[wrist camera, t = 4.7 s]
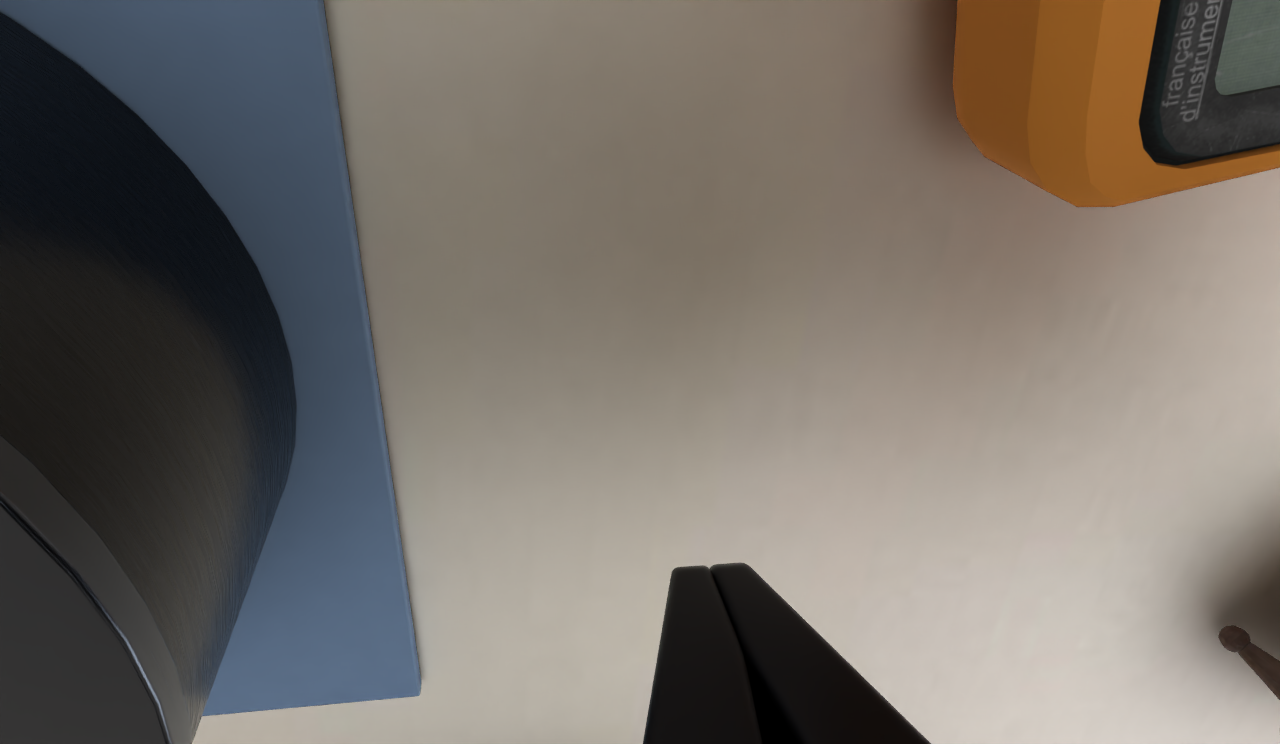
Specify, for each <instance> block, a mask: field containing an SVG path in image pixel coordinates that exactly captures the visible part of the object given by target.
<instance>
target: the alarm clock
mask: <svg viewBox="0 0 1280 744" xmlns="http://www.w3.org/2000/svg"><path fill="white" fill-rule="evenodd" d="M1219 639H1220V642H1221V643H1222V645H1223V646H1224V647H1225V648H1226V649H1228V650H1229V651H1232V652H1238V653H1239V655H1240V656H1241V657H1242V658H1243V659H1244V660H1245V661H1246V662H1247V664H1248V665H1249V666H1250V667H1251V668H1252V669H1253V670H1254V671H1255V673H1256V674H1257V675H1258V676H1259V677H1260V678H1261V679H1262V681H1263V682H1264V683H1265V684H1266V685H1267V686H1268V687H1269V688H1270V690H1271V691H1272V692H1273V693H1274V694H1275V695H1276V696H1277V697H1278V699H1279V700H1280V661H1279V660H1277V659H1276V658H1274V657H1273V656H1271V655H1270V654H1268V653H1267V652H1265V651H1263V650H1262V649H1260V648H1259V647H1257V646H1256V645H1254V644H1253V643H1251V642H1250V637H1249V634H1248V633H1247V632H1246V631H1245V630H1243V629H1241V628H1239V627H1237V626H1234V625H1231V626H1226V627H1224V628H1222V629H1221V631H1220V632H1219Z"/></svg>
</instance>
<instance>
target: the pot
mask: <svg viewBox="0 0 1280 744" xmlns="http://www.w3.org/2000/svg"><path fill="white" fill-rule="evenodd" d="M296 411H297V402H296V394H295V386H294V378H293V370H292V362H291V358H290V354H289V351H288V347H287V344H286V340H285V337H284V333H283V330H282V326H281V323H280V319H279V316H278V313H277V311H276V309H275V306H274V304H273V302H272V300H271V297H270V295H269V293H268V291H267V288H266V286H265V284H264V282H263V279H262V277H261V275H260V273H259V270H258V268H257V266H256V264H255V263H254V261H253V259H252V258H251V256H250V254H249V253H248V251H247V249H246V248H245V246H244V245H243V243H242V241H241V240H240V238H239V236H238V235H237V233H236V231H235V230H234V228H233V226H232V225H231V223H230V221H229V220H228V218H227V217H226V215H225V214H224V213H223V211H222V210H221V209H220V207H219V206H218V205H217V204H216V202H215V201H214V200H213V198H212V197H211V196H210V195H209V193H208V192H207V191H206V189H205V188H204V187H203V186H202V184H201V183H200V182H199V180H198V179H197V178H196V177H195V175H194V174H193V173H192V172H191V170H190V169H189V168H188V166H187V165H186V164H185V163H184V162H183V161H182V160H181V159H180V158H179V157H178V156H177V155H176V154H175V153H174V152H173V151H172V150H171V149H170V148H169V147H168V146H167V145H166V143H165V142H164V141H163V140H162V139H161V138H160V137H159V136H158V135H157V134H156V133H155V132H154V131H153V130H152V129H151V128H150V127H149V126H148V125H147V124H146V123H145V122H144V121H143V120H142V119H141V118H140V117H139V116H138V115H137V114H136V113H135V112H134V111H133V110H131V109H130V108H129V107H128V106H127V105H125V104H124V103H123V102H122V101H121V100H120V99H118V98H117V97H116V96H115V95H114V94H112V93H111V92H110V91H109V90H108V89H107V88H105V87H104V86H103V85H102V84H101V83H99V82H98V81H97V80H96V79H95V78H93V77H92V76H91V75H90V74H89V73H88V72H86V71H85V70H84V69H83V68H82V67H80V66H79V65H78V64H76V63H75V62H73V61H72V60H71V59H69V58H68V57H66V56H65V55H63V54H62V53H60V52H59V51H58V50H56V49H55V48H53V47H52V46H50V45H49V44H47V43H46V42H45V41H43V40H42V39H40V38H39V37H37V36H36V35H34V34H33V33H31V32H30V31H29V30H27V29H26V28H24V27H23V26H21V25H20V24H18V23H17V22H16V21H14V20H13V19H11V18H9V17H8V16H6V15H4V14H2V13H1V12H0V744H192V742H193V739H194V736H195V733H196V731H197V728H198V725H199V722H200V720H201V717H202V714H203V711H204V709H205V706H206V703H207V700H208V698H209V695H210V692H211V689H212V687H213V684H214V681H215V678H216V676H217V673H218V670H219V667H220V665H221V662H222V659H223V656H224V654H225V651H226V648H227V645H228V643H229V640H230V637H231V634H232V632H233V629H234V626H235V623H236V621H237V618H238V615H239V612H240V610H241V607H242V604H243V601H244V599H245V596H246V593H247V590H248V588H249V585H250V582H251V579H252V577H253V574H254V571H255V568H256V566H257V563H258V560H259V557H260V555H261V552H262V549H263V546H264V544H265V541H266V538H267V535H268V533H269V530H270V527H271V524H272V522H273V519H274V516H275V513H276V511H277V508H278V505H279V502H280V500H281V497H282V494H283V491H284V489H285V486H286V483H287V479H288V475H289V470H290V466H291V461H292V457H293V452H294V447H295V435H296Z"/></svg>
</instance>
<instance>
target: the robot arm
mask: <svg viewBox="0 0 1280 744" xmlns="http://www.w3.org/2000/svg"><path fill="white" fill-rule="evenodd" d="M643 744H931V743H930V742H929V741H928V740H927V739H926V738H925V737H924V736H923V735H921V734H920V733H919V732H918V731H917V730H916V729H915V728H914V727H913V726H912V725H911V724H910V723H909V722H908V721H907V720H906V719H905V718H904V717H903V716H902V715H901V714H900V713H899V712H898V711H897V710H896V709H895V708H894V707H893V706H892V705H891V704H890V703H889V702H888V701H887V700H886V699H885V698H884V697H883V696H882V695H881V694H880V693H879V692H878V691H877V690H876V689H875V688H873V687H872V686H871V685H870V684H869V683H868V682H867V681H866V680H865V679H864V678H863V677H862V676H861V675H860V674H859V673H858V672H857V671H856V670H855V669H854V668H853V667H852V666H851V665H850V664H849V663H848V662H847V661H846V660H845V659H844V658H843V657H842V656H841V655H840V654H839V653H838V652H837V651H836V650H835V649H834V648H833V647H832V646H831V645H830V644H829V643H828V642H826V641H825V640H824V639H823V638H822V637H821V636H820V635H819V634H818V633H817V632H816V631H815V630H814V629H813V628H812V627H811V626H810V625H809V624H808V623H807V622H806V621H805V620H804V619H803V618H802V617H801V616H800V615H799V614H798V613H797V612H796V611H795V610H794V609H793V608H792V607H791V606H790V605H789V604H788V603H787V602H786V601H785V600H784V599H783V598H782V597H781V596H779V595H778V594H777V593H776V592H775V591H774V590H773V589H772V588H771V587H770V586H769V585H768V584H767V583H766V582H765V581H764V580H763V579H762V578H761V577H760V576H759V575H758V574H757V573H756V572H755V571H754V570H753V569H752V568H751V567H750V566H748V565H747V564H745V563H730V564H716V565H713V566H712V567H710V569H709V568H708V567H706V566H689V567H677V568H675V569H674V570H673V571H672V574H671V579H670V585H669V591H668V597H667V603H666V609H665V615H664V621H663V627H662V633H661V639H660V645H659V651H658V657H657V663H656V669H655V675H654V681H653V687H652V693H651V699H650V705H649V711H648V717H647V723H646V729H645V735H644V741H643Z"/></svg>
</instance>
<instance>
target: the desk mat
mask: <svg viewBox="0 0 1280 744" xmlns="http://www.w3.org/2000/svg"><path fill="white" fill-rule="evenodd" d="M0 12H1V13H2V14H4V15H6V16H8V17H9V18H11V19H13V20H14V21H16V22H17V23H18V24H20V25H21V26H23V27H24V28H26V29H27V30H29V31H30V32H31V33H33V34H34V35H36V36H37V37H39V38H40V39H42V40H43V41H45V42H46V43H47V44H49V45H50V46H52V47H53V48H55V49H56V50H58V51H59V52H60V53H62V54H63V55H65V56H66V57H68V58H69V59H71V60H72V61H73V62H75V63H76V64H78V65H79V66H80V67H82V68H83V69H84V70H85V71H86V72H88V73H89V74H90V75H91V76H92V77H93V78H95V79H96V80H97V81H98V82H99V83H101V84H102V85H103V86H104V87H105V88H107V89H108V90H109V91H110V92H111V93H112V94H114V95H115V96H116V97H117V98H118V99H120V100H121V101H122V102H123V103H124V104H125V105H127V106H128V107H129V108H130V109H131V110H133V111H134V112H135V113H136V114H137V115H138V116H139V117H140V118H141V119H142V120H143V121H144V122H145V123H146V124H147V125H148V126H149V127H150V128H151V129H152V130H153V131H154V132H155V133H156V134H157V135H158V136H159V137H160V138H161V139H162V140H163V141H164V142H165V143H166V145H167V146H168V147H169V148H170V149H171V150H172V151H173V152H174V153H175V154H176V155H177V156H178V157H179V158H180V159H181V160H182V161H183V162H184V163H185V164H186V165H187V166H188V168H189V169H190V170H191V172H192V173H193V174H194V175H195V177H196V178H197V179H198V180H199V182H200V183H201V184H202V186H203V187H204V188H205V189H206V191H207V192H208V193H209V195H210V196H211V197H212V198H213V200H214V201H215V202H216V204H217V205H218V206H219V207H220V209H221V210H222V211H223V213H224V214H225V215H226V217H227V218H228V220H229V221H230V223H231V225H232V226H233V228H234V230H235V231H236V233H237V235H238V236H239V238H240V240H241V241H242V243H243V245H244V246H245V248H246V249H247V251H248V253H249V254H250V256H251V258H252V259H253V261H254V263H255V264H256V266H257V268H258V270H259V273H260V275H261V277H262V279H263V282H264V284H265V286H266V288H267V291H268V293H269V295H270V297H271V300H272V302H273V304H274V306H275V309H276V311H277V313H278V316H279V319H280V323H281V326H282V330H283V333H284V337H285V340H286V344H287V347H288V351H289V354H290V358H291V362H292V370H293V378H294V386H295V394H296V402H297V411H296V435H295V447H294V452H293V457H292V461H291V466H290V470H289V475H288V479H287V483H286V486H285V489H284V491H283V494H282V497H281V500H280V502H279V505H278V508H277V511H276V513H275V516H274V519H273V522H272V524H271V527H270V530H269V533H268V535H267V538H266V541H265V544H264V546H263V549H262V552H261V555H260V557H259V560H258V563H257V566H256V568H255V571H254V574H253V577H252V579H251V582H250V585H249V588H248V590H247V593H246V596H245V599H244V601H243V604H242V607H241V610H240V612H239V615H238V618H237V621H236V623H235V626H234V629H233V632H232V634H231V637H230V640H229V643H228V645H227V648H226V651H225V654H224V656H223V659H222V662H221V665H220V667H219V670H218V673H217V676H216V678H215V681H214V684H213V687H212V689H211V692H210V695H209V698H208V700H207V703H206V706H205V709H204V711H203V714H202V716H209V715H220V714H230V713H241V712H252V711H263V710H273V709H284V708H295V707H306V706H316V705H327V704H338V703H349V702H359V701H370V700H381V699H392V698H402V697H413V696H419V695H420V689H421V677H420V670H419V663H418V656H417V649H416V642H415V635H414V628H413V621H412V614H411V607H410V600H409V593H408V586H407V579H406V572H405V565H404V558H403V551H402V544H401V537H400V530H399V524H398V517H397V510H396V503H395V496H394V489H393V482H392V475H391V468H390V461H389V454H388V447H387V440H386V433H385V426H384V419H383V412H382V405H381V398H380V391H379V384H378V377H377V370H376V364H375V357H374V350H373V343H372V336H371V329H370V322H369V315H368V308H367V301H366V294H365V287H364V280H363V273H362V266H361V259H360V252H359V245H358V238H357V231H356V224H355V217H354V210H353V204H352V197H351V190H350V183H349V176H348V169H347V162H346V155H345V148H344V141H343V134H342V127H341V120H340V113H339V106H338V99H337V92H336V85H335V78H334V71H333V64H332V57H331V50H330V44H329V37H328V30H327V23H326V16H325V9H324V2H323V0H0Z"/></svg>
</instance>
